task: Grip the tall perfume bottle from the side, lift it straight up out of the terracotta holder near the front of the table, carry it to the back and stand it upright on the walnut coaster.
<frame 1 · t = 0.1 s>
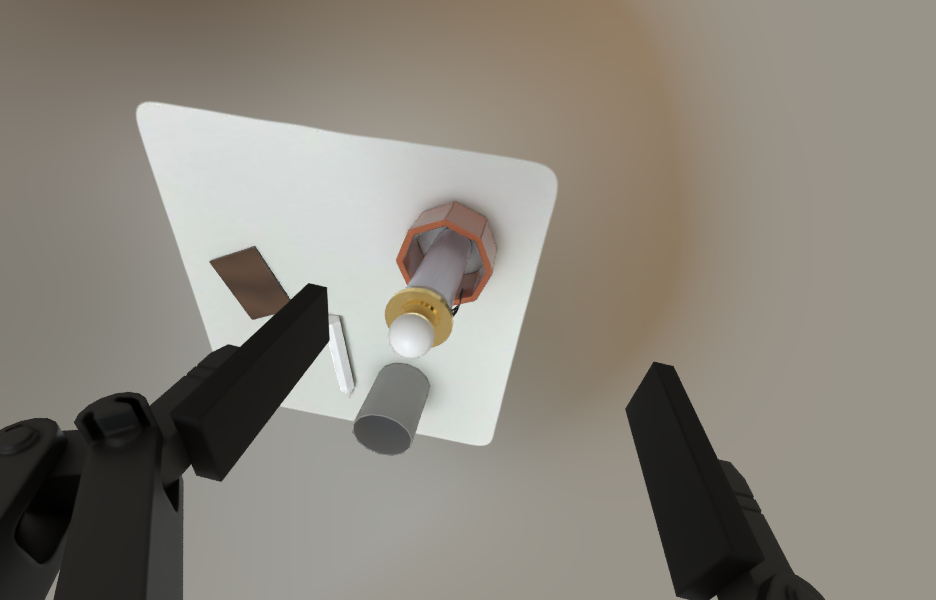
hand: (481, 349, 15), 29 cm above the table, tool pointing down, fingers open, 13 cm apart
perfume bottle: (454, 244, 44), resting in holder
marker: (345, 357, 57), on the table
holder: (453, 244, 44), on the table
coaster: (254, 284, 52), on the table
cup: (404, 382, 58), on the table
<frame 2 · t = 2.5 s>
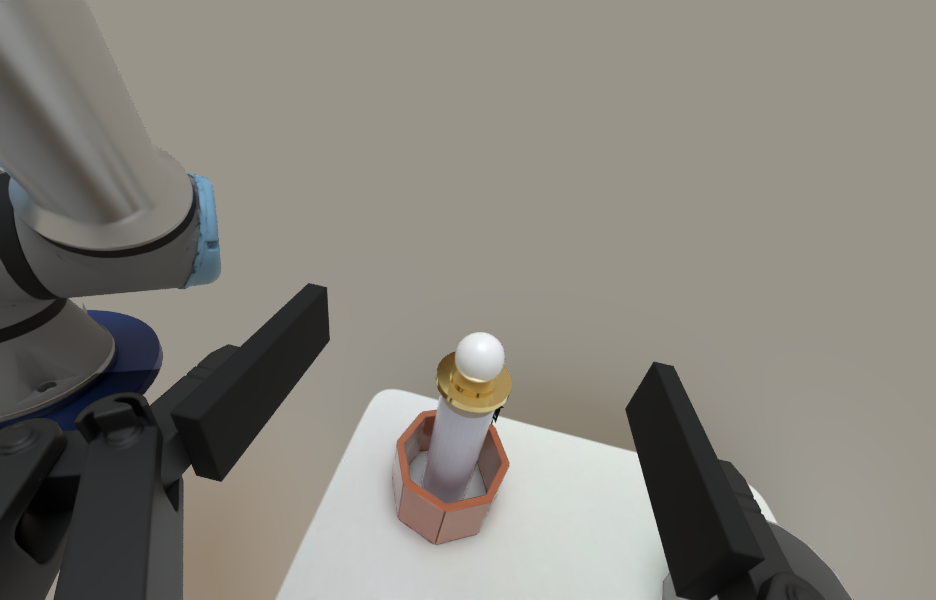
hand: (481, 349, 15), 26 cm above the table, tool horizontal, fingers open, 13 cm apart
perfume bottle: (443, 487, 37), resting in holder
holder: (443, 486, 37), on the table
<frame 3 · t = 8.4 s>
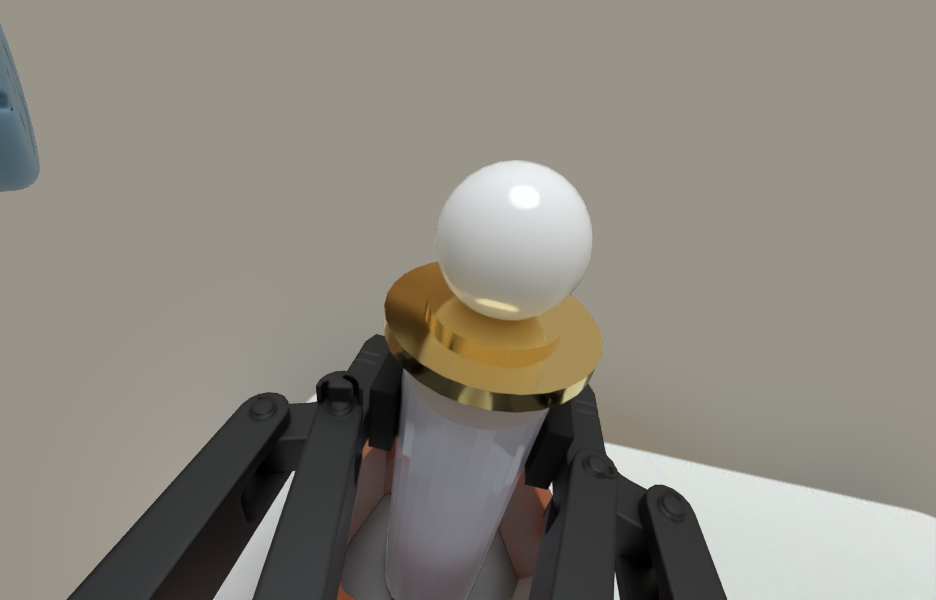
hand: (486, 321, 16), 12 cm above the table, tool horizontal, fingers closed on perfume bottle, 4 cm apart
perfume bottle: (429, 569, 19), resting in holder, touching gripper
holder: (430, 567, 19), on the table
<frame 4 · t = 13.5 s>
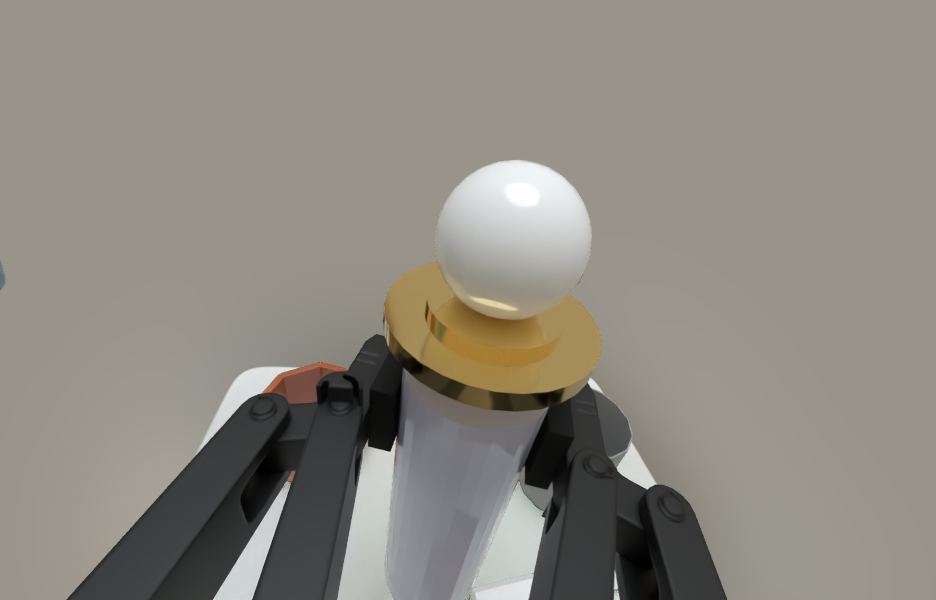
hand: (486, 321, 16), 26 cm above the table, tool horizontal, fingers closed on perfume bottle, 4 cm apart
perfume bottle: (429, 568, 19), point 14 cm above the table, touching gripper
marker: (561, 589, 31), on the table
holder: (317, 438, 38), on the table
cup: (554, 478, 39), on the table
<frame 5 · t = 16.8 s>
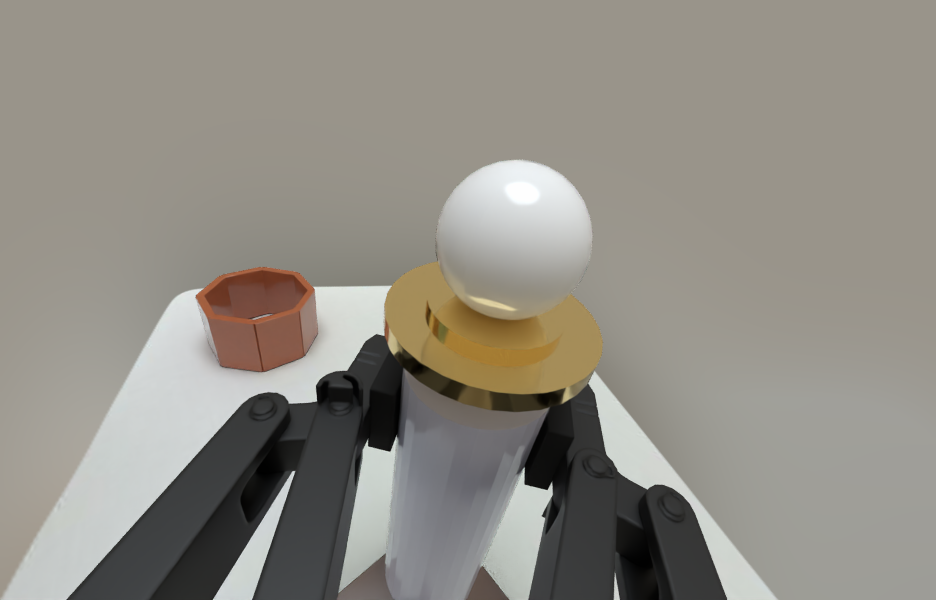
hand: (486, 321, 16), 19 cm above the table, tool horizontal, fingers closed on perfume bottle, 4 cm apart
perfume bottle: (429, 569, 19), point 7 cm above the table, touching gripper
holder: (266, 337, 40), on the table
when the fingers open (12 cm above the table, at t = 19.0 s): perfume bottle stays where it is, resting on coaster.
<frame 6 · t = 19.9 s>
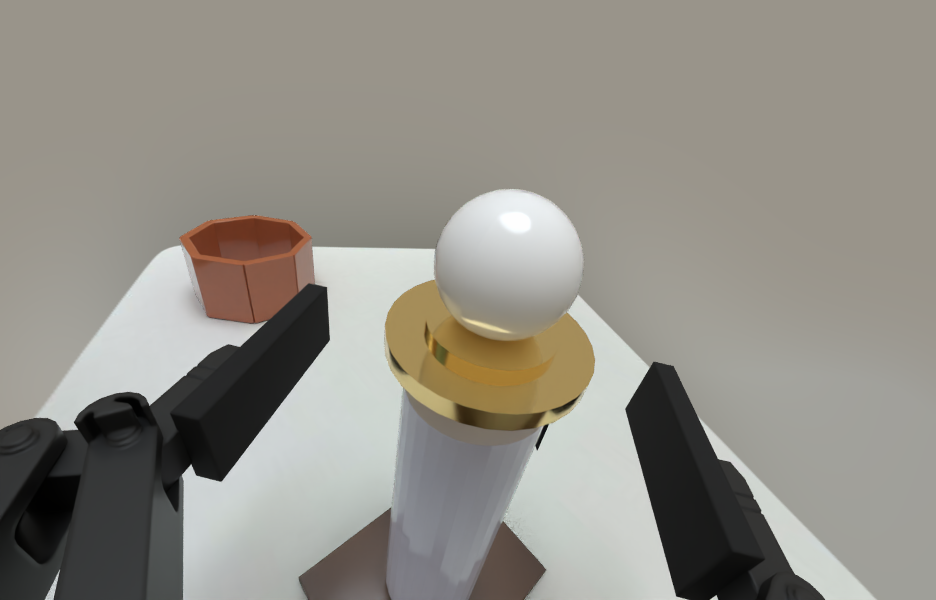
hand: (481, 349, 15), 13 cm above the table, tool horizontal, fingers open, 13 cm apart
perfume bottle: (429, 575, 19), resting on coaster
holder: (259, 291, 37), on the table
coaster: (428, 576, 19), on the table
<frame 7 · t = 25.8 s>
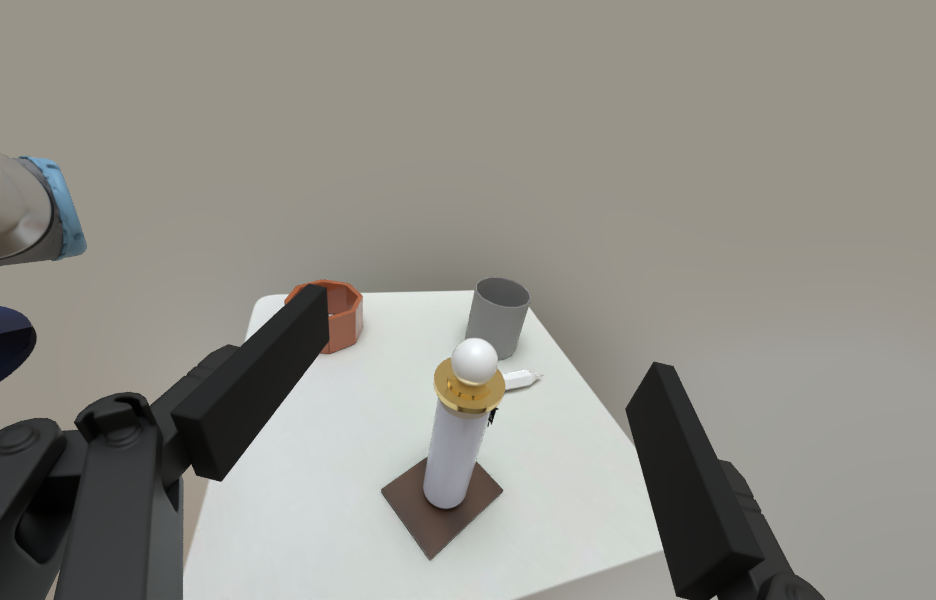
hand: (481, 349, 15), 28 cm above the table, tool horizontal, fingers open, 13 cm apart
perfume bottle: (444, 490, 38), resting on coaster
marker: (494, 389, 51), on the table
holder: (326, 330, 56), on the table
coaster: (443, 491, 38), on the table
cup: (489, 343, 60), on the table
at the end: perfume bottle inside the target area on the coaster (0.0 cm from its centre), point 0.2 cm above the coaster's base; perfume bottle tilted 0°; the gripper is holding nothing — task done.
